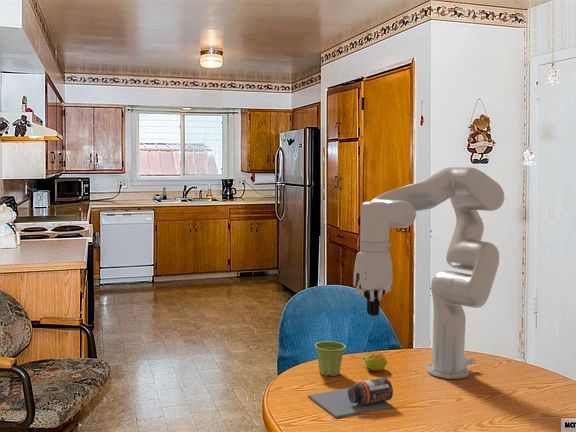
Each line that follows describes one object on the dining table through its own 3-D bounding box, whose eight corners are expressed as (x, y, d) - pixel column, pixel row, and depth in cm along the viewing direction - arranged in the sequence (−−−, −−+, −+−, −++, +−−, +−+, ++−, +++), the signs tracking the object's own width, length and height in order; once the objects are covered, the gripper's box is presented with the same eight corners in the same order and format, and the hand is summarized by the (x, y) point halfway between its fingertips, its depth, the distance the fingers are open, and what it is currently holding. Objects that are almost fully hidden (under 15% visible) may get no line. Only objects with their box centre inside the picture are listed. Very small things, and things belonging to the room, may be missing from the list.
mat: (360, 388, 167) (360, 386, 167) (392, 407, 153) (392, 405, 153) (308, 397, 159) (308, 395, 159) (335, 418, 146) (335, 415, 146)
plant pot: (328, 366, 186) (328, 339, 185) (351, 373, 179) (351, 345, 178) (307, 372, 179) (308, 345, 178) (331, 380, 172) (331, 352, 172)
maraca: (369, 374, 178) (369, 357, 178) (358, 364, 188) (359, 347, 187) (390, 373, 179) (391, 356, 179) (379, 363, 189) (379, 347, 189)
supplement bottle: (390, 405, 155) (353, 412, 151) (379, 389, 160) (343, 395, 156) (396, 388, 153) (358, 395, 148) (384, 372, 158) (348, 379, 153)
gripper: (389, 244, 163) (387, 308, 165) (343, 247, 157) (342, 314, 158) (405, 247, 157) (403, 315, 158) (358, 250, 150) (357, 320, 151)
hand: (372, 314), depth 158 cm, fingers closed
